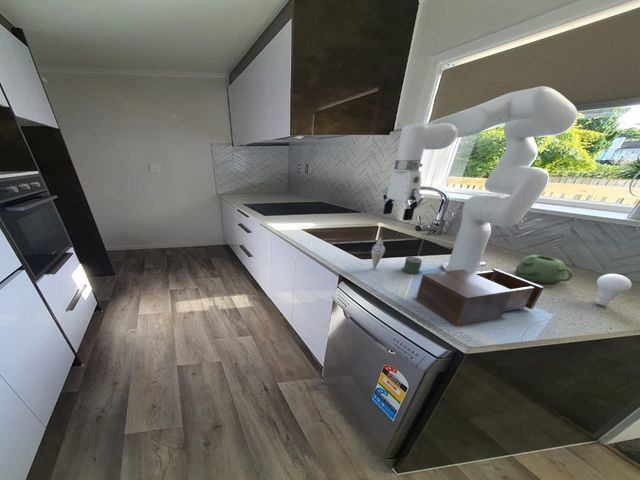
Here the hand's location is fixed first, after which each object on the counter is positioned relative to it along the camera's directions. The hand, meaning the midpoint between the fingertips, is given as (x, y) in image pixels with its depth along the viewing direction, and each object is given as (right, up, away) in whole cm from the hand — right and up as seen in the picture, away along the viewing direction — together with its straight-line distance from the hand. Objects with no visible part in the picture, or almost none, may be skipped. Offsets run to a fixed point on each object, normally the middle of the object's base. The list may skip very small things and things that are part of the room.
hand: (396, 216), depth 87 cm
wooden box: (+14, -31, -9) cm, 35 cm away
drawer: (+29, -29, -6) cm, 42 cm away
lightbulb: (+62, -30, -8) cm, 69 cm away
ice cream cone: (0, -20, +18) cm, 27 cm away
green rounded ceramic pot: (+61, -24, +8) cm, 66 cm away
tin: (+15, -21, +16) cm, 30 cm away
